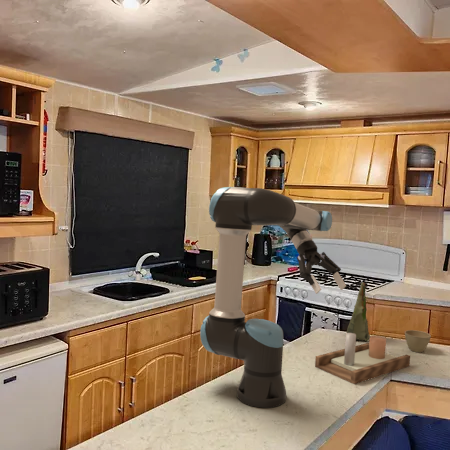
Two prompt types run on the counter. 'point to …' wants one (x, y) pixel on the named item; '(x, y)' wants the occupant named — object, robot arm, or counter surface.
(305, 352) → the counter surface
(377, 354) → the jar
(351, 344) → the cream flat panel
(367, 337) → the olive tapered piece
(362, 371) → the tray
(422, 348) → the flower pot
